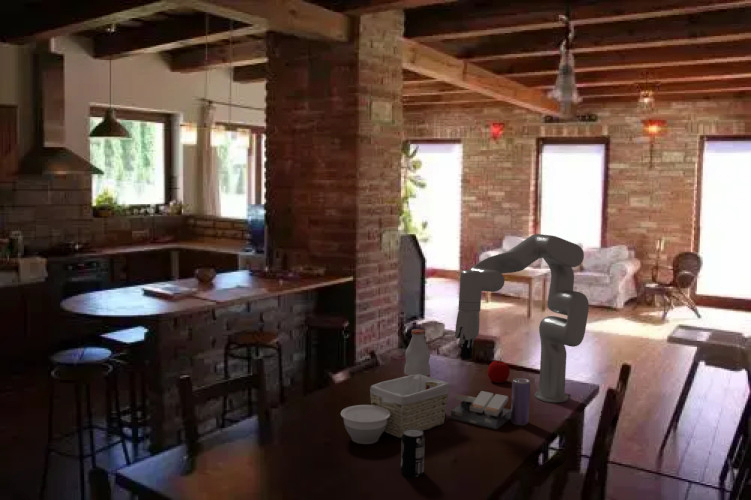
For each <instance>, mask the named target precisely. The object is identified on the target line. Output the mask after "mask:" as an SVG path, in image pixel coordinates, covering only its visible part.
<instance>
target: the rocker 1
mask: <svg viewBox="0 0 751 500" xmlns="http://www.w3.org/2000/svg"><path fill="white" fill-rule="evenodd" d="M475 399H476V397H474V396H470V395H464V394H459V393H457V394H456V395H455V400H458V401H461V402H462V401H466V402H473V401H474V400H475Z"/></svg>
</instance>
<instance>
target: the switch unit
mask: <svg viewBox="0 0 751 500" xmlns="http://www.w3.org/2000/svg"><path fill="white" fill-rule="evenodd" d="M472 403H473V402H466V401H462V400H461V401H460V404H459V405H457V406H456V407H455V408H453V409H451V410H450V419H451V420H453V421H454V420H455V421H460V422H464V423H467V424H472V425H476V426H481V427H485V428H489V429H493V430H497V429H499V428H501V426H503V425H504V424H506V423H507V422H508V421H511V409H509V408H505V407H503V409H502V410H501V411H500V413H499V414H498V416H492V415H488V414H485V412H484V411H483V413H479V412H474V411H470V405H471V404H472Z"/></svg>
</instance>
